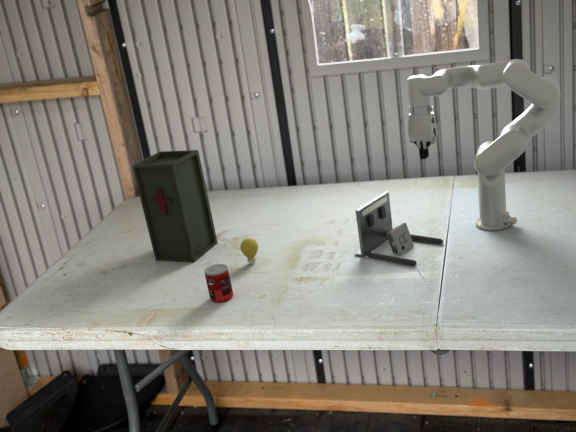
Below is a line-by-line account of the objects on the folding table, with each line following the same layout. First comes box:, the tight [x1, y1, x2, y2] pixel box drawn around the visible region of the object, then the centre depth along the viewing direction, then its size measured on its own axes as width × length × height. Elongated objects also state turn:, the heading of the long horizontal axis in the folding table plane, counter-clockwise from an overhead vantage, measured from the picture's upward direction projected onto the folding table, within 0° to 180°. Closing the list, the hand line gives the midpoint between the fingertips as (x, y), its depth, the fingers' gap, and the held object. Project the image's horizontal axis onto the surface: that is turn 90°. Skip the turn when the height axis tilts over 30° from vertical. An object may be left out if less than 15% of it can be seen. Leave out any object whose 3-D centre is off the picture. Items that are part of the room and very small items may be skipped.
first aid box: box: [131, 149, 218, 263], centre depth 261 cm, size 18×18×40 cm
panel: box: [354, 190, 394, 258], centre depth 242 cm, size 5×20×18 cm, turn 139°
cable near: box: [365, 252, 417, 267], centre depth 230 cm, size 20×2×2 cm, turn 49°
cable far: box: [410, 233, 444, 245], centre depth 243 cm, size 20×2×2 cm, turn 49°
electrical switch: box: [386, 222, 415, 256], centre depth 237 cm, size 9×5×9 cm, turn 138°
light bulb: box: [239, 237, 259, 266], centre depth 245 cm, size 7×7×10 cm
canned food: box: [203, 263, 234, 304], centre depth 222 cm, size 8×8×11 cm
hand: (424, 158), depth 246 cm, fingers closed
